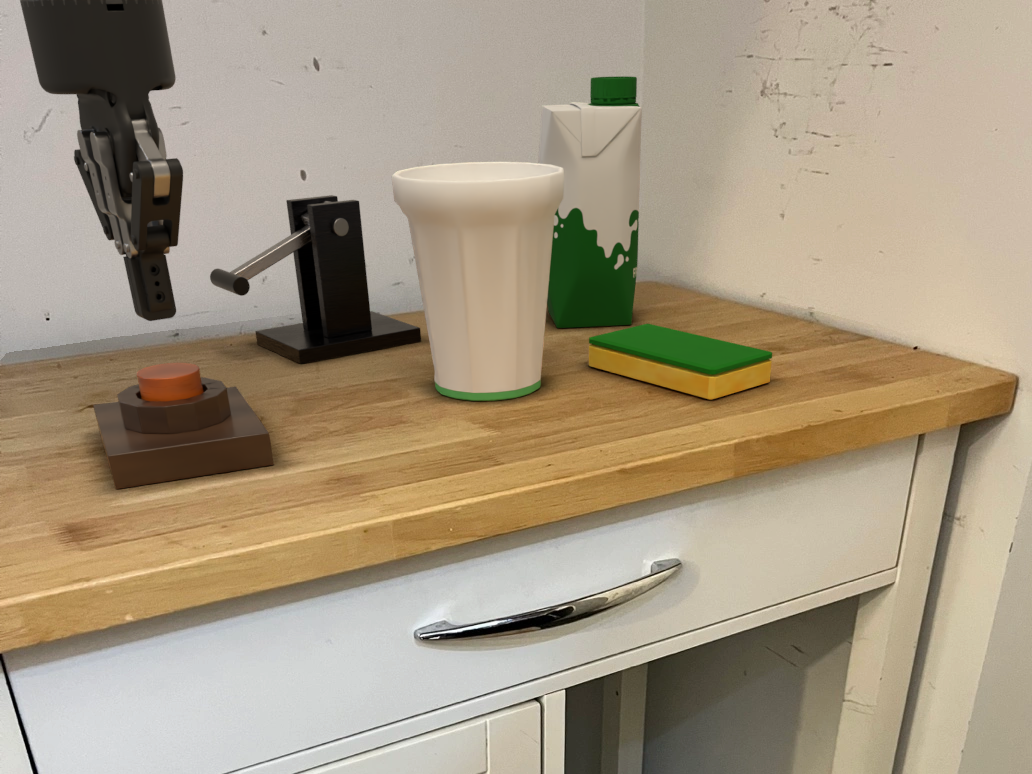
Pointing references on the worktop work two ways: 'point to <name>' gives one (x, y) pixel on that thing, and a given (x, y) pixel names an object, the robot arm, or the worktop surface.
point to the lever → (261, 261)
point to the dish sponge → (680, 360)
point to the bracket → (333, 290)
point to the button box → (181, 435)
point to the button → (169, 382)
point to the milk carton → (595, 204)
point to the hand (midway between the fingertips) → (157, 317)
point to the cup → (483, 270)
